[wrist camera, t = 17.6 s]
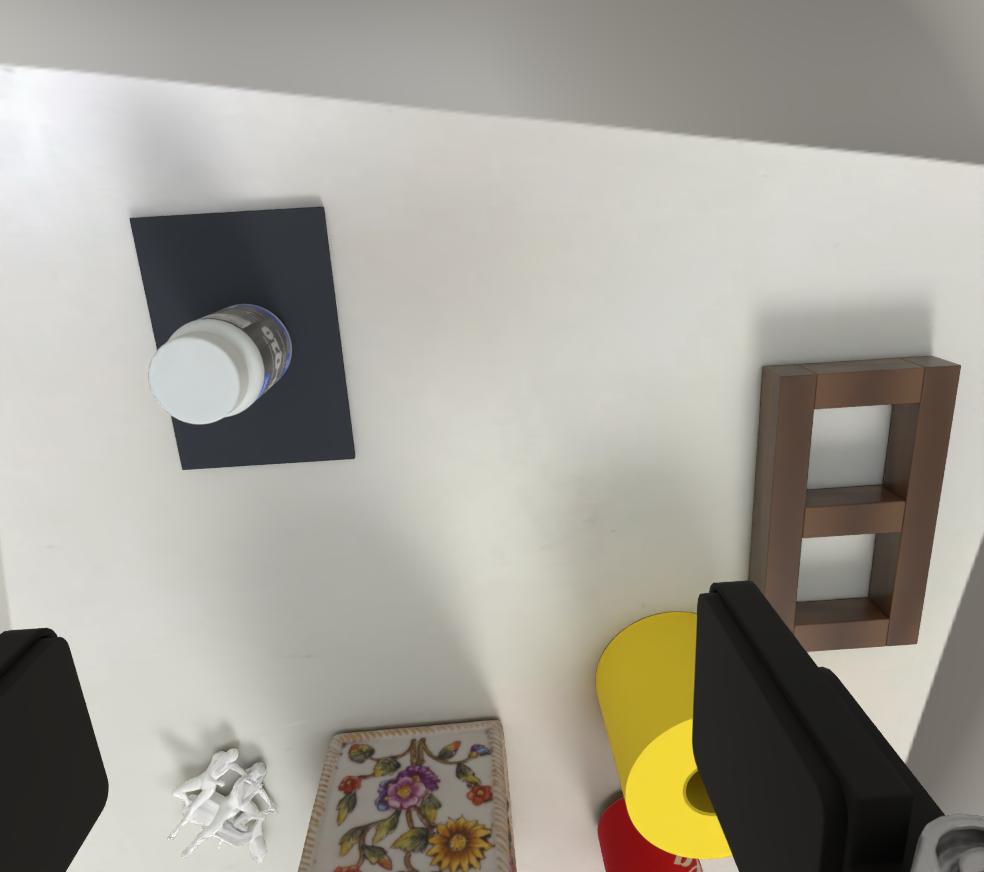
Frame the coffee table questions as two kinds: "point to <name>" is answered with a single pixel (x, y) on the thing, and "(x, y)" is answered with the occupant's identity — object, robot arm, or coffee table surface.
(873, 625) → the holder
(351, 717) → the coffee table surface
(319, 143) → the coffee table surface
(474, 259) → the coffee table surface
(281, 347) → the pill bottle
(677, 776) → the yellow toilet paper roll
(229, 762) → the figurine
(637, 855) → the beverage can
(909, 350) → the coffee table surface
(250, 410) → the mat
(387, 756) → the decorative jar
